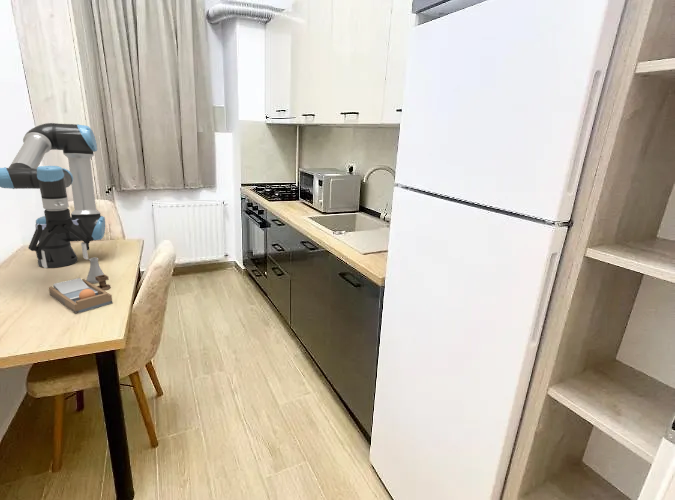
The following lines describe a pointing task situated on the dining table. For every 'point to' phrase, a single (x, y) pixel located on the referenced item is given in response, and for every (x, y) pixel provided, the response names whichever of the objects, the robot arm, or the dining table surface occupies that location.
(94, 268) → the flask
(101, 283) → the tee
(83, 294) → the ball
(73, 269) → the dining table surface
